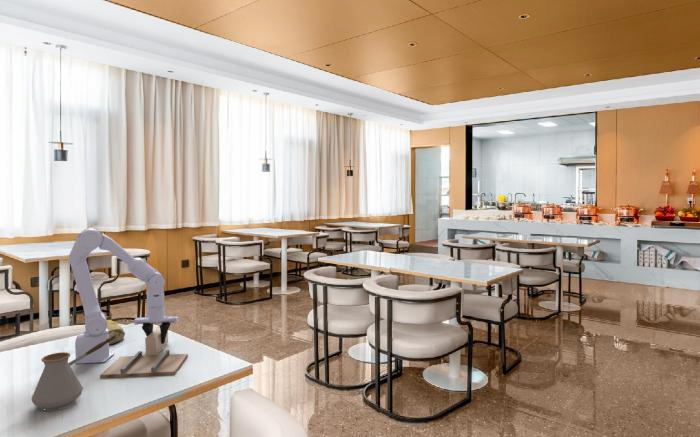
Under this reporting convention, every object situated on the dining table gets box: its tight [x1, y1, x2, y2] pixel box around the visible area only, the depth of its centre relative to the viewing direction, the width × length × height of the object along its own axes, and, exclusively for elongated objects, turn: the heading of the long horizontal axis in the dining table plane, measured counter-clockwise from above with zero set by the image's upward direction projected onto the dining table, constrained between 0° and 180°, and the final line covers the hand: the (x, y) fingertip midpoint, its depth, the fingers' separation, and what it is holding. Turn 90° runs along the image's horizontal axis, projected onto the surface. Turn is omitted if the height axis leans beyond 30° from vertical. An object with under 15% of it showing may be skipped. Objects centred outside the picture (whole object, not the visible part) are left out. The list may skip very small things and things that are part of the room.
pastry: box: [106, 319, 126, 346], centre depth 168 cm, size 14×12×8 cm
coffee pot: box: [31, 335, 120, 411], centre depth 122 cm, size 21×12×15 cm, turn 137°
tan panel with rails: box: [99, 349, 189, 379], centre depth 143 cm, size 22×15×2 cm
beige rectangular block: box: [144, 326, 169, 356], centre depth 160 cm, size 4×13×6 cm, turn 5°
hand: (157, 343), depth 160 cm, fingers closed on beige rectangular block, 3 cm apart
